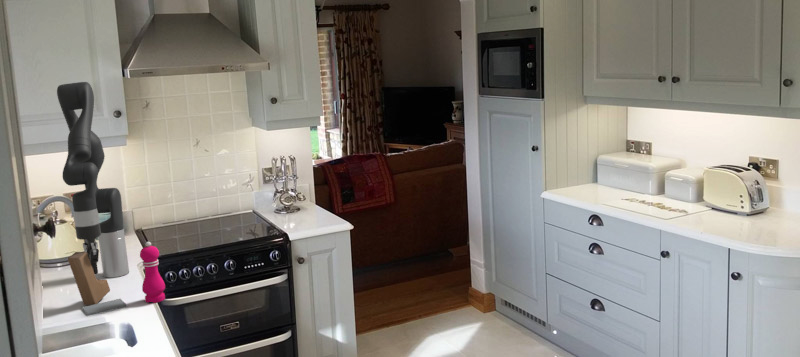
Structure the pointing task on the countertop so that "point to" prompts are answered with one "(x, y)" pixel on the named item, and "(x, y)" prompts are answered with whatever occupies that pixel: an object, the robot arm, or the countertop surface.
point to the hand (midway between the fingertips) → (94, 273)
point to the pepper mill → (152, 275)
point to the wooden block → (87, 279)
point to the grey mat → (104, 306)
